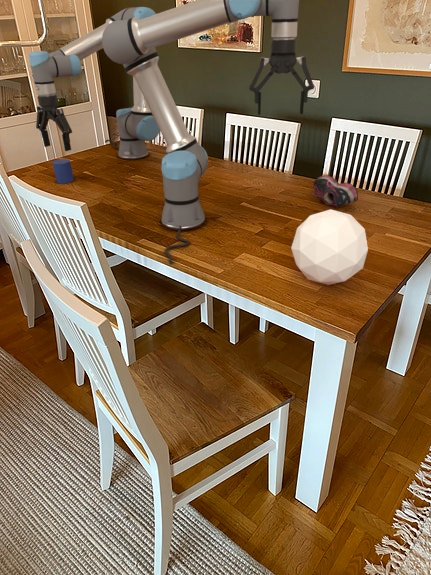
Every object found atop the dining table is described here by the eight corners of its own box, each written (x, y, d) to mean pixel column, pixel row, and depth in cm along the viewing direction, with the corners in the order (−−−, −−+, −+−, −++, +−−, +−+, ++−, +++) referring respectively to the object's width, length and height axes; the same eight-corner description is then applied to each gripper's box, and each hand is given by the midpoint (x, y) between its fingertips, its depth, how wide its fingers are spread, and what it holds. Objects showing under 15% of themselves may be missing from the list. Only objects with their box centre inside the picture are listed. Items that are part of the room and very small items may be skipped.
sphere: (335, 308, 121) (353, 282, 102) (274, 269, 126) (281, 237, 107) (370, 256, 126) (393, 222, 107) (310, 220, 131) (322, 182, 112)
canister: (59, 178, 200) (55, 159, 196) (75, 177, 200) (71, 158, 196) (54, 183, 194) (50, 164, 189) (71, 183, 194) (67, 163, 190)
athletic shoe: (322, 174, 175) (297, 182, 171) (360, 169, 156) (333, 177, 152) (327, 202, 178) (303, 210, 174) (365, 200, 158) (339, 209, 155)
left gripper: (19, 93, 182) (32, 146, 193) (59, 98, 169) (70, 154, 181) (35, 91, 187) (46, 142, 198) (74, 95, 175) (84, 150, 186)
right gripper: (324, 36, 134) (317, 110, 146) (242, 39, 136) (241, 111, 147) (328, 38, 128) (320, 115, 140) (242, 40, 130) (241, 116, 141)
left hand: (57, 148), depth 189 cm, fingers open, 13 cm apart
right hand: (280, 113), depth 143 cm, fingers open, 13 cm apart
